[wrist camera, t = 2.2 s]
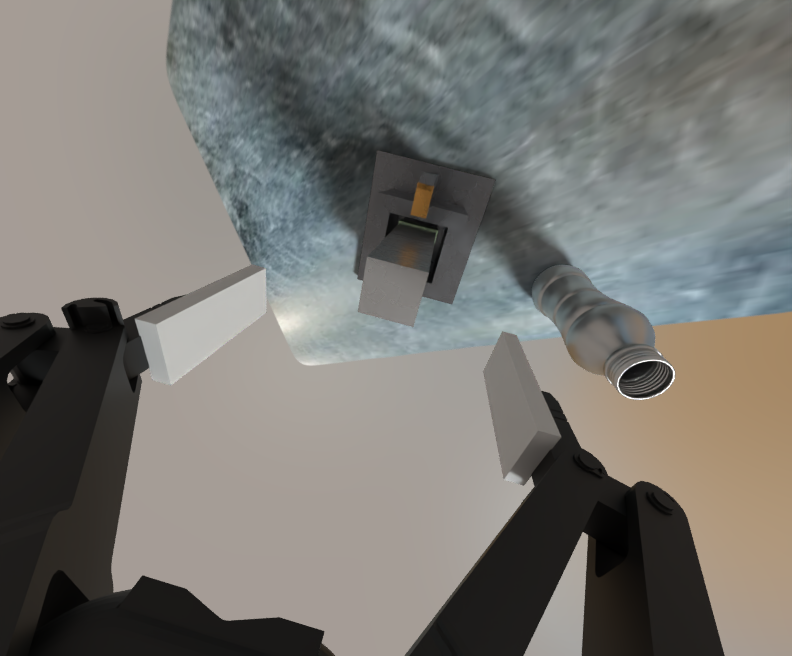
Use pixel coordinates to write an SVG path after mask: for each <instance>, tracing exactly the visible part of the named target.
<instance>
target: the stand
mask: <svg viewBox="0 0 792 656" xmlns="http://www.w3.org/2000/svg"><path fill="white" fill-rule="evenodd" d="M495 181H496V180H494V179H490V178H486V177H482V176H478V175H474V174H470V173H466V172H462V171H458V170H454V169H450V168H446V167H442V166H438V165H434V164H430V163H426V162H422V161H418V160H414V159H410V158H406V157H403V156H399V155H395V154H391V153H387V152H383V151H379V150H377V155H376V161H375V168H374V174H373V181H372V187H371V194H370V200H369V207H368V213H367V220H366V226H365V232H364V239H363V245H362V252H361V258H360V265H359V271H358V278H357V279H359V280H363V278H364V272H365V266H366V260H367V256H368V255H369V254H370V253H371V252H372V251H373V250H374V249H375V248H376V247H377V246H378V245H379V244H380V243H381V242H382V241H383V240H384V239H385V237H386V236H387V235H388V234H389V233H390V232H391V231H392V230H393V229H394V228H395V227H396V226H397V225H398V223H399V220H400V219H404V218H405V217H409V218H413V219H417V220H421V221H425V222H428V223H432V224H436V225H438V226H437V228H439V229H438V233H437V237H436V240H435V244H434V248H433V253H432V258H431V264H430V269H429V274H428V277H427V281H426V284H425V288H424V291H423V295H422V296H423V297H426V298H430V299H434V300H438V301H441V302H445V303H449V304H452V303H453V300H454V297H455V294H456V292H457V289H458V286H459V283H460V280H461V277H462V275H463V272H464V269H465V266H466V263H467V260H468V258H469V255H470V252H471V249H472V246H473V243H474V241H475V238H476V235H477V232H478V229H479V226H480V224H481V221H482V218H483V215H484V212H485V209H486V207H487V204H488V201H489V198H490V195H491V192H492V190H493V187H494V184H495Z"/></svg>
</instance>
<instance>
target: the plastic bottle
mask: <svg viewBox="0 0 792 656" xmlns="http://www.w3.org/2000/svg"><path fill="white" fill-rule="evenodd" d="M532 299H533V302H534V305H535V307H536V308H537V309H538V310H539V311H540V312H541V313H542V314H543V315H545V316H546V317H548V318H549V319H550V320H551V321H552V322H553V323H554V324H555V325H556V326H557V328H558V330H559V332H560V333H561V335H562V337H563V340H564V343H565V345H566V348H567V350H568V352H569V354H570V356H571V358H572V359H573V361H574V362H575V363H576V364H577V365H578V366H580V367H582V368H583V369H585V370H587V371H588V372H591V373H594V374H597V375H601V376H605V377H606V379H607V380H608V381H609V382H610V383H611V384H612V385H613V386H614V387H615V388H616V390H617V391H618V392H619V393H620V394H622V395H623V396H625V397H627V398H629V399H634V400H642V399H648V398H652V397H655V396H657V395H659V394H661V393H663V392H664V391H666V390H667V389H668V388H669V387H670V386H671V385H672V383H673V381H674V379H675V370H674V369H673V367H672V365H671V364H670V363H669V362H668V361H667V360H666V359H665V358H664V357H663V355H662V354H661V353H660V352H659V351H658V350H657V349H656V348H654V346H655V332H654V329H653V327H652V325H651V324H650V322H649V320H648V318H647V317H646V316H645V315H644V314H642V313H641V312H639V311H638V310H636V309H634V308H632V307H630V306H628V305H625V304H623V303H620V302H618V301H616V300H613V299H611V298H609V297H608V296H606V295H604V294H603V293H601V292H600V291H598V290H597V288H596V287H595V286H594V285H593V284H592V283H591V281H590V279H589V278H588V276H587V275H586V274H585V273H584V272H583V271H582V270H580V269H579V268H576V267H573V266H569V265H556V266H552V267H550V268H548V269H546V270H544V271H543V272H542V273H541V274H540V275H539V276H538V277H537V278H536V280H535V281H534V283H533V286H532Z"/></svg>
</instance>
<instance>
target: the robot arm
mask: <svg viewBox="0 0 792 656" xmlns="http://www.w3.org/2000/svg"><path fill="white" fill-rule="evenodd" d="M62 311H63V314H64V316H65V318H66V320H67V323H68V325H69V327H70V328H59V327H58V328H57V327H53V326H52V324H51V321H50V319H49V317H48V316H46V315H44V314H40V313H17V314H9V315H7V316H4V317H0V656H335V655H334V654H333V653H332V652H331V651H330V650H329V649H328V648H327V647H326V646H324V645H323V644H322V639H323V635H324V631H322V630H318V629H315V628H312V627H309V626H306V625H302V624H299V623H296V622H293V621H289V620H286V619H283V618H279V617H278V618H263V619H248V620H234V621H226V620H222V619H221V618H219V617H218V616H217V615H216V614H214V613H213V612H212V611H211V610H210V609H209V608H207V606H205V605H204V604H203V603H202V602H201V601H200V600H198V599H197V598H196V597H195V596H194V595H193V594H192V593H190V592H189V591H188V590H187V589H185V588H182V587H178V586H175V585H172V584H169V583H165V582H162V581H159V580H155V579H152V578H149V577H146V576H142V577H141V578H140V579H139V581H138V582H137V583H136V585H135V586H134V587H133V588H132V589H130V590H125V591H120V592H115V593H113V581H112V573H111V563H112V555H113V549H114V544H115V538H116V532H117V525H118V519H119V514H120V508H121V502H122V495H123V490H124V484H125V478H126V472H127V466H128V460H129V454H130V449H131V443H132V437H133V431H134V425H135V419H136V413H137V407H138V401H139V395H140V389H141V383H142V380H141V376H140V373H142V372H143V371H145V370H147V369H148V368H149V370H150V374H151V377H152V380H154V381H157V382H161V383H165V384H168V385H172V384H173V383H175V382H176V381H177V380H179V379H180V378H181V377H183V376H184V375H185V374H186V373H188V372H189V371H190V370H191V369H193V368H194V367H196V366H197V365H198V364H200V363H201V362H202V361H204V360H205V359H206V358H207V357H209V356H210V355H211V354H212V353H214V352H215V351H217V350H218V349H219V348H221V347H222V346H223V345H224V344H226V343H227V342H228V341H230V340H231V339H232V338H234V337H235V336H236V335H238V334H239V333H240V332H241V331H243V330H244V329H245V328H247V327H248V326H249V325H251V324H252V323H253V322H255V321H256V320H257V319H258V318H260V317H261V316H262V315H264V314H265V313H266V268H263V267H259V266H256V265H250V266H249V267H246V268H244V269H242V270H239V271H237V272H235V273H233V274H231V275H229V276H227V277H224V278H222V279H220V280H218V281H216V282H213V283H211V284H209V285H207V286H205V287H203V288H200V289H198V290H196V291H194V292H192V293H189V294H187V295H183V296H178V297H174V298H171V299H169V300H167V301H164V302H162V303H161V304H158V305H155V306H154V307H152V308H149V309H146V310H144V311H142V312H140V313H138V314H135V315H133V316H131V317H128V318H126V319H124V320H123V319H122V315H121V313H120V309H119V306H118V303H117V302H116V301H114V300H113V299H107V298H86V299H81V300H77V301H73V302H70V303H68V304H66V305H64V306H63V307H62ZM10 372H11V374H12V375H13V377H14V379H13V380H12V381H11V382H9V383H7V377H8V374H9V373H10ZM483 373H484V377H485V383H486V389H487V394H488V399H489V405H490V410H491V415H492V420H493V426H494V431H495V436H496V441H497V446H498V452H499V457H500V462H501V467H502V473H503V478H504V480H507V481H510V482H513V483H517V484H521V485H525V484H526V482H527V481H528V480H529V478H530V477H531V476H532V479H533V482H534V486H535V487H534V488H533V489H532V491H531V492H530V493H529V494H528V496H527V497H526V498H525V499H524V500H523V502H522V503H521V505H520V506H519V507H518V509H517V510H516V511H515V513H514V514H513V515H512V517H511V518H510V519H509V521H508V522H507V523H506V524H505V526H504V527H503V528H502V530H501V531H500V532H499V533H498V535H497V536H496V537H495V539H494V540H493V541H492V543H491V544H490V545H489V546H488V548H487V549H486V550H485V552H484V553H483V554H482V556H481V557H480V558H479V560H478V561H477V562H476V563H475V565H474V566H473V567H472V569H471V570H470V571H469V573H468V574H467V575H466V576H465V578H464V579H463V580H462V582H461V583H460V584H459V586H458V587H457V588H456V589H455V591H454V592H453V593H452V595H451V596H450V597H449V599H448V600H447V601H446V603H445V604H444V605H443V606H442V608H441V609H440V610H439V612H438V613H437V614H436V615H435V617H434V618H433V619H432V621H431V622H430V623H429V625H428V626H427V627H426V629H425V630H424V631H423V632H422V634H421V635H420V636H419V638H418V639H417V640H416V642H415V643H414V644H413V645H412V647H411V648H410V649H409V651H408V652H407V653H406V655H405V656H523V655H524V653H525V651H526V649H527V647H528V645H529V643H530V641H531V638H532V637H533V634H534V632H535V630H536V628H537V626H538V624H539V622H540V620H541V618H542V616H543V614H544V611H545V609H546V607H547V605H548V603H549V601H550V599H551V597H552V595H553V593H554V591H555V589H556V586H557V584H558V582H559V580H560V578H561V576H562V574H563V572H564V570H565V568H566V565H567V563H568V561H569V559H570V557H571V555H572V553H573V551H574V549H575V547H576V545H577V542H578V540H579V538H580V536H581V534H582V532H584V533H586V534H588V551H587V570H586V589H585V606H584V624H583V643H582V656H724V652H723V648H722V645H721V641H720V637H719V634H718V630H717V626H716V622H715V619H714V615H713V611H712V608H711V604H710V601H709V597H708V593H707V590H706V586H705V583H704V578H703V574H702V571H701V567H700V564H699V560H698V556H697V552H696V549H695V545H694V541H693V537H692V534H691V530H690V526H689V523H688V519H687V517H686V515H685V512H684V511H683V509H682V508H681V507H680V505H679V504H678V503H677V502H676V501H675V500H674V499H673V498H672V497H671V496H670V495H669V494H668V493H666V492H665V491H663V490H662V489H661V488H659V487H658V486H655V485H653V484H651V483H649V482H644V481H640V482H637V483H636V484H635V485H634V486H632V487H628V486H627V485H625V484H623V483H621V482H619V481H617V480H615V479H613V478H611V477H610V476H608V474H607V472H606V470H605V468H604V466H603V465H602V464H601V462H600V461H599V460H598V459H597V458H596V457H594V456H593V455H592V454H591V453H589V452H587V451H586V450H584V449H582V448H581V447H580V445H579V443H578V441H577V439H576V437H575V435H574V433H573V431H572V429H571V427H570V425H569V423H568V422H567V419H566V417H565V415H564V414H563V411H562V409H561V407H560V405H559V403H558V401H556V399H555V398H554V397H553V396H552V395H551V394H550V393H547V392H544V391H541V390H540V387H539V385H538V383H537V380H536V378H535V376H534V374H533V372H532V369H531V367H530V365H529V363H528V360H527V358H526V356H525V354H524V351H523V349H522V347H521V344H520V342H519V340H518V337H517V335H514V334H510V333H506V332H503V331H502V333H501V335H500V337H499V339H498V342H497V344H496V346H495V348H494V350H493V352H492V354H491V356H490V358H489V360H488V363H487V365H486V367H485V369H484V371H483ZM320 646H321V647H320Z"/></svg>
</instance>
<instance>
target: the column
mask: <svg viewBox="0 0 792 656" xmlns="http://www.w3.org/2000/svg"><path fill="white" fill-rule="evenodd" d="M437 226H438V225H436V224H432V223H428V222H425V221H421V220H417V219H413V218H409V217H405V218H404V219H400V220H399V223H398V225H397V226H396V227H395V228H394V229H393V230H392V231H391V232H390V233H389V234H388V235H387V236H386V237H385V239H384V240H383V241H382V242H381V243H380V244H379V245H378V246H377V247H376V248H375V249H374V250H373V251H372V252H371V253H370V254H369V255H368V256H367V260H366V266H365V272H364V278H363V284H362V290H361V296H360V302H359V308H358V312H360V313H364V314H367V315H371V316H375V317H378V318H382V319H386V320H389V321H393V322H397V323H401V324H404V325H408V326H412V327H413V326H414V323H415V319H416V316H417V312H418V309H419V305H420V302H421V298H422V295H423V291H424V288H425V284H426V281H427V277H428V274H429V269H430V264H431V258H432V253H433V248H434V244H435V240H436V237H437V233H438V229H439V228H437Z"/></svg>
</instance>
